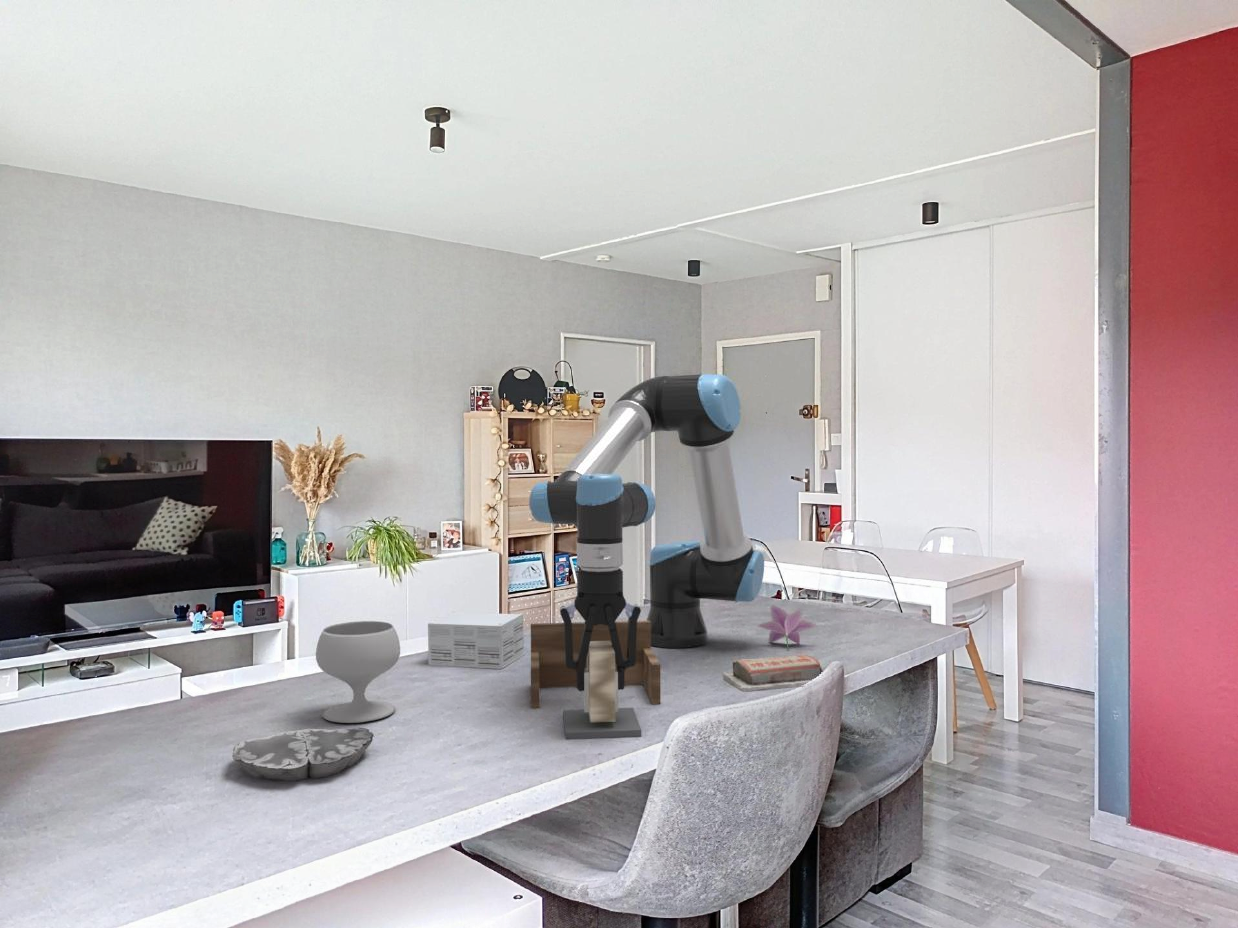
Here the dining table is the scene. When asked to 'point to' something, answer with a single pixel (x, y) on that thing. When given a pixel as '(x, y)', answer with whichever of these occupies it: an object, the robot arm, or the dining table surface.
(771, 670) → the packaged product
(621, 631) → the walnut cubby
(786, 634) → the lily
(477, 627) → the supplement box
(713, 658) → the dining table surface
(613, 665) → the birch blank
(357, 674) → the chalice
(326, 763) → the brain slice
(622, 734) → the charcoal mat
